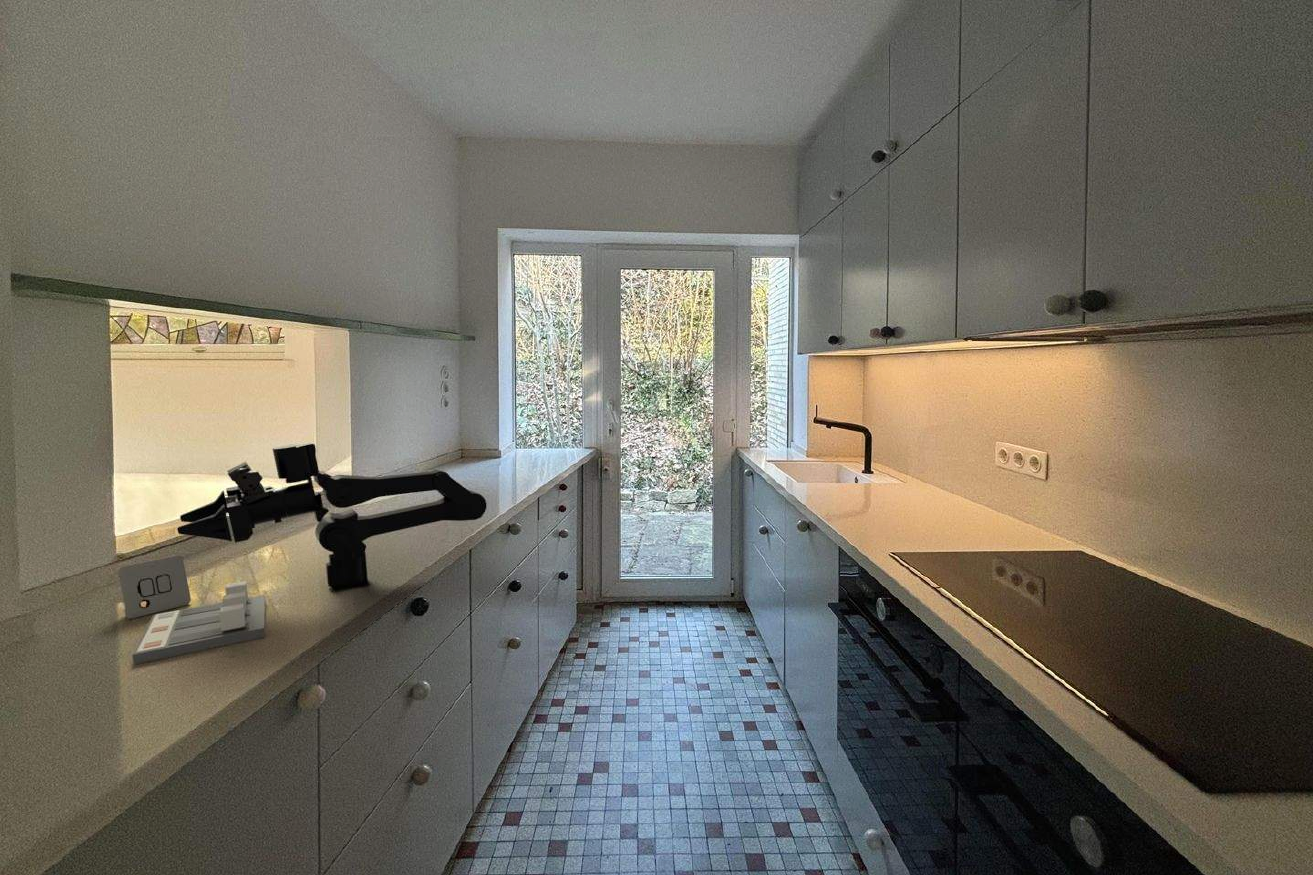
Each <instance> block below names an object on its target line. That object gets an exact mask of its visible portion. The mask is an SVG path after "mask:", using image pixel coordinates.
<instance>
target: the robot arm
mask: <svg viewBox="0 0 1313 875" xmlns="http://www.w3.org/2000/svg"><path fill="white" fill-rule="evenodd" d="M272 454H273V457H274V463H275V467H276V472H277V473H276V474H277V476H278V477H277V478H278V479H279V480H280V479H281V480H283V479H285V483H286V484H293V485H288V486H283V487H278V488H275V487H274V486H272V485H269V486H268V485H267V486H264V485H263V484H262V483H261V481H262V480H263V478H264V477H263V476H262V475H261V474H260V472H259V470H256V469H255V470H252V469H251V466H249V465H248V463H247V462H246V461H244V462H241V463H240V464H238V465H236V466H234V467H232V468H230V469H229V470H227V475H228V477H229V478H230V479H231V481H232V482H234V483H235V484H236V485H237V486H236V485H235V486H231V487H226V488H225V491H224V490H222V491H221V492H220V494H218V496H217V498H216V499H215V500H214V501H212V502H210V503H207V504H205V505H203V506H200V507H197V508H195V509H192V510H190V511H187V512H185V513H183V514H180V516H179V519H180V521H181V522H182V523H183V522H184V523H186V524H184V525H181V526H177V530H176V531H177V532H178V533H177V534H179V535H183V536H193V537H201V538H202V537H203V538H210V539H216V540H217V539H218V540H223V541H228V542H233V540H234V543H235V544H236V543H240V542H241V543H242V542H244V541H248V540H250V539H251V537H252V536H253V534H254V530H253V529H255V528H256V526H257V525H262V524H266V523H270V522H274V524H278V523H282V520H284V519H290V518H293V517H299V516H302V515H303V516H304V515H306V514H308V515H309V514H312V513H314V514H313V515H314V518H315V521H316V522H318V523H317V525H316V527H315V529H314V530H315V533H314V535H315V537H316V539H317V542H318V543H319V545H320V546H321V547H322V548H323V549H324V550H327V551H328V552H331V553H330V554H328V562H326V563H325V570H326V578H327V579H326V580H327V586H328V587H329V588H331V591H332V592H339V591H345V590H350V589H356V588H360V587H361V588H362V587H365V586H369V585H370V581H369V579H368V578H369V576H368V564H367V556H366V553H367V552H366V549H367V544H365V543H364V541H366V540H367V539H369V538H372V537H374V536H375V537H376V536H379V535H384V534H387V533H392V532H396V531H397V532H398V531H401V530H405V529H410V528H414V527H415V528H416V527H420V526H423V525H428V524H433V523H437V522H442V521H451V522H452V521H455V522H456V521H457V522H462V521H463V522H465V521H475V520H479V519H481V518H482V517H483V516H484V514H485V513H486V510H487V501H486V498H485V497H484V496H483V495H482V494H480V493H478V492H475V491H473V490H470V489H467V488H466V487H464V486H463V485H462V484H460V483H459V482H457V480H455V479H454V478H453V477H451V476H450V475H449V473H448V472H446V471H443V470H441V469H434V470H431V471H421V472H414V473H413V472H411V473H405V474H403V473H402V474H393V475H385V476H375V477H374V476H362V475H348V474H336V475H330V474H328V473H326V472H325V471H323V470H319V465H318V459H317V456H316V455H317V448H316V444H314V443H313V442H311V443H302V444H287V445H281V446H276V447H274V448H272ZM312 477H313V479H312ZM313 480H314V482H315V483H316V484H317V485H318V486H319V487H320V488H322V493H323V496H324V498H325V499H326V501H328V502H329V504H330V505H332V506H334V507H335V508H338V509H345V508H350V507H352V506H353V507H354V506H356V505H361V504H364V503H366V502H369V501H371V500H374V499H377V498H381V497H390V496H391V497H392V496H399V495H407V494H414V493H423V492H432V491H437V492H438V493H439V494H440V495H441V496H442V498H440V499H438V500H436V501H432V502H428V503H427V502H426V503H423V504H419V505H413V506H409V507H408V506H407V507H404V508H399V509H394V510H393V509H392V510H389V511H384V512H379V513H375V514H369V515H359V514H358V512H356V510H354V509H353V508H351V509H347V510H345V511H344V510H343V511H342V512H337V513H335V512H330V511H329V509H328V507H325V506H324V504H323V498H322V493H321V492H320V491H315V489H314V485H313ZM305 481H307V482H305ZM300 482H303V483H300ZM295 483H297V484H295ZM225 492H226V494H225ZM329 512H330V513H329ZM328 513H329V515H330V516H327V517H325V515H327V514H328Z"/></svg>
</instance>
